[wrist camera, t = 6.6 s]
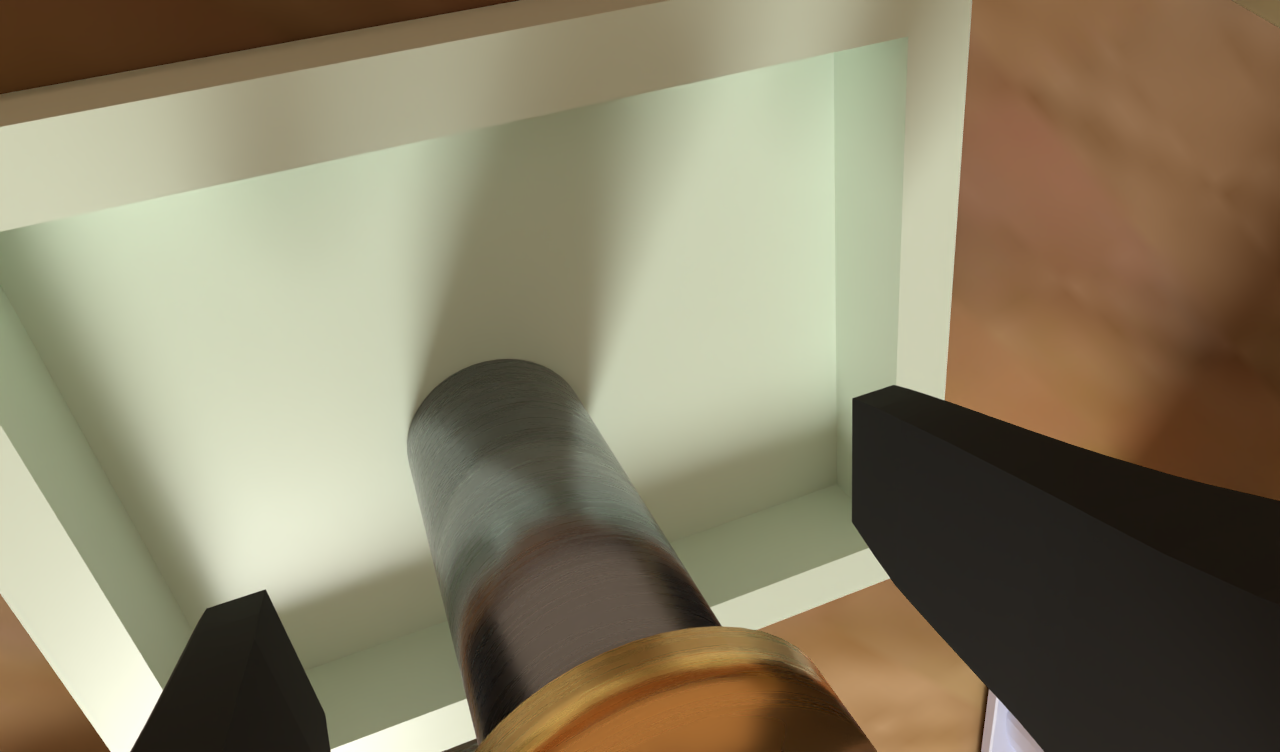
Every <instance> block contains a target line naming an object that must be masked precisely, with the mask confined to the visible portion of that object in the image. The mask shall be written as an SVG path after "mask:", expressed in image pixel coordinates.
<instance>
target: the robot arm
mask: <svg viewBox="0 0 1280 752" xmlns="http://www.w3.org/2000/svg"><path fill="white" fill-rule="evenodd" d="M852 523H853V525H854V526H855V528H856V529H857V531H858V532H859V534H860V535H861V537H862V538H863V540H864V541H865V543H866V544H867V546H868V547H869V549H870V550H871V552H872V553H873V555H874V556H875V558H876V559H877V560H878V562H879V563H880V565H881V566H882V567H883V569H884V570H885V572H886V573H887V574H888V576H889V577H890V579H891V580H892V581H893V583H894V584H895V585H896V586H897V588H898V589H899V590H900V591H901V592H902V593H903V595H904V596H905V597H906V598H907V599H908V600H909V601H910V602H911V604H912V605H913V606H914V607H915V608H916V609H917V610H918V611H919V612H920V614H921V615H922V616H923V617H924V618H925V619H926V620H927V621H928V622H929V624H930V625H931V626H932V627H933V628H934V629H935V630H936V631H937V633H938V634H939V635H940V636H941V637H942V638H943V639H944V640H945V641H946V642H947V643H948V645H949V646H950V647H951V648H952V649H953V650H954V651H955V652H956V653H957V654H958V655H959V657H960V658H961V659H962V660H963V661H964V662H965V663H966V664H967V665H968V666H969V667H970V669H971V670H972V671H973V672H974V673H975V674H976V675H977V676H978V677H979V678H980V680H981V681H982V682H983V683H984V684H985V685H986V686H987V687H988V688H989V693H988V701H987V709H986V716H985V724H984V732H983V740H982V748H981V752H1280V501H1277V500H1273V499H1268V498H1264V497H1260V496H1255V495H1251V494H1247V493H1242V492H1238V491H1234V490H1230V489H1225V488H1221V487H1217V486H1212V485H1208V484H1204V483H1200V482H1196V481H1192V480H1189V479H1185V478H1181V477H1177V476H1173V475H1170V474H1166V473H1163V472H1159V471H1156V470H1153V469H1149V468H1146V467H1142V466H1139V465H1136V464H1132V463H1129V462H1126V461H1122V460H1119V459H1115V458H1112V457H1109V456H1105V455H1102V454H1099V453H1096V452H1093V451H1090V450H1087V449H1084V448H1080V447H1077V446H1074V445H1071V444H1068V443H1065V442H1062V441H1059V440H1056V439H1053V438H1050V437H1048V436H1045V435H1042V434H1039V433H1036V432H1033V431H1030V430H1027V429H1024V428H1021V427H1019V426H1016V425H1013V424H1010V423H1007V422H1004V421H1001V420H999V419H996V418H993V417H990V416H987V415H985V414H982V413H979V412H976V411H973V410H970V409H968V408H965V407H962V406H959V405H956V404H953V403H950V402H948V401H945V400H942V399H939V398H936V397H933V396H930V395H927V394H924V393H921V392H917V391H914V390H911V389H907V388H904V387H900V386H897V385H891V386H888V387H885V388H882V389H879V390H876V391H873V392H870V393H867V394H864V395H861V396H858V397H855V398H852ZM130 752H331V751H330V744H329V737H328V730H327V723H326V716H325V712H324V710H323V708H322V706H321V704H320V702H319V700H318V698H317V696H316V693H315V691H314V689H313V687H312V685H311V683H310V681H309V679H308V677H307V675H306V673H305V670H304V668H303V666H302V664H301V662H300V660H299V658H298V656H297V654H296V652H295V649H294V647H293V645H292V643H291V641H290V639H289V637H288V635H287V633H286V631H285V629H284V626H283V624H282V622H281V620H280V618H279V616H278V614H277V612H276V610H275V608H274V605H273V603H272V601H271V599H270V597H269V595H268V593H267V591H266V589H265V590H262V591H259V592H256V593H253V594H249V595H246V596H243V597H240V598H237V599H234V600H231V601H228V602H225V603H222V604H219V605H216V606H213V607H210V608H206V610H205V612H204V613H203V615H202V616H201V618H200V620H199V621H198V623H197V625H196V627H195V629H194V631H193V633H192V635H191V637H190V639H189V640H188V642H187V644H186V646H185V648H184V650H183V652H182V654H181V656H180V658H179V660H178V662H177V664H176V666H175V668H174V670H173V672H172V674H171V676H170V678H169V680H168V682H167V684H166V686H165V688H164V689H163V691H162V693H161V695H160V697H159V699H158V701H157V703H156V705H155V707H154V709H153V710H152V712H151V714H150V716H149V718H148V720H147V722H146V724H145V726H144V728H143V729H142V731H141V733H140V735H139V737H138V738H137V740H136V742H135V744H134V746H133V747H132V749H131V751H130Z"/></svg>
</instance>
